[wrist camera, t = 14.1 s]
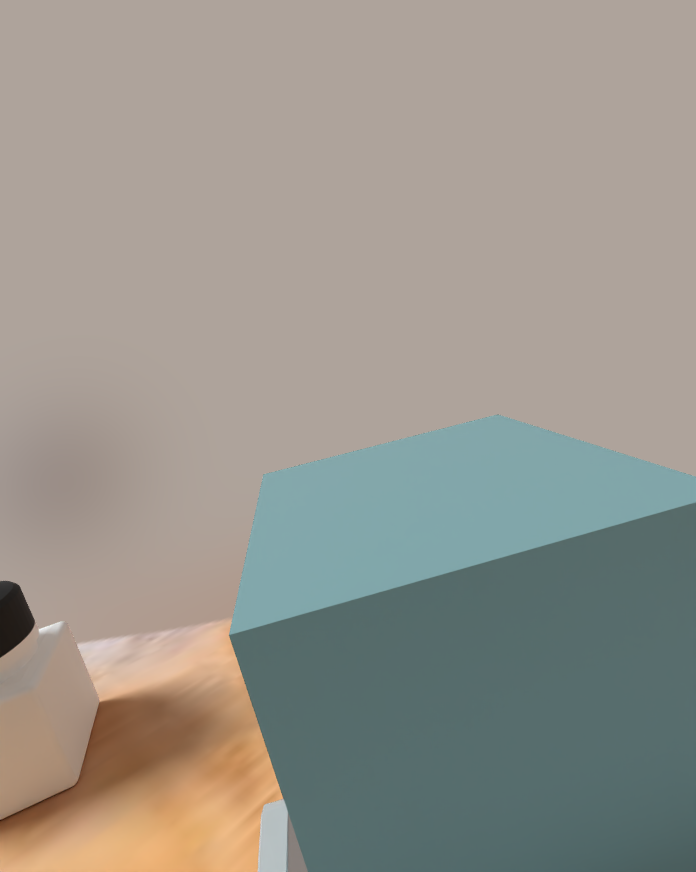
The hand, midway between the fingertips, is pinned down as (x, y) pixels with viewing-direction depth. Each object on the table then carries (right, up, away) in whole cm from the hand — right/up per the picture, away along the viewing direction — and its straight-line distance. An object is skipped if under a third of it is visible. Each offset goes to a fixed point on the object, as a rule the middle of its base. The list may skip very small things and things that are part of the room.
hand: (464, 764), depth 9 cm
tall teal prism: (+2, -7, +1) cm, 8 cm away
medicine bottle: (-23, -15, +19) cm, 33 cm away
